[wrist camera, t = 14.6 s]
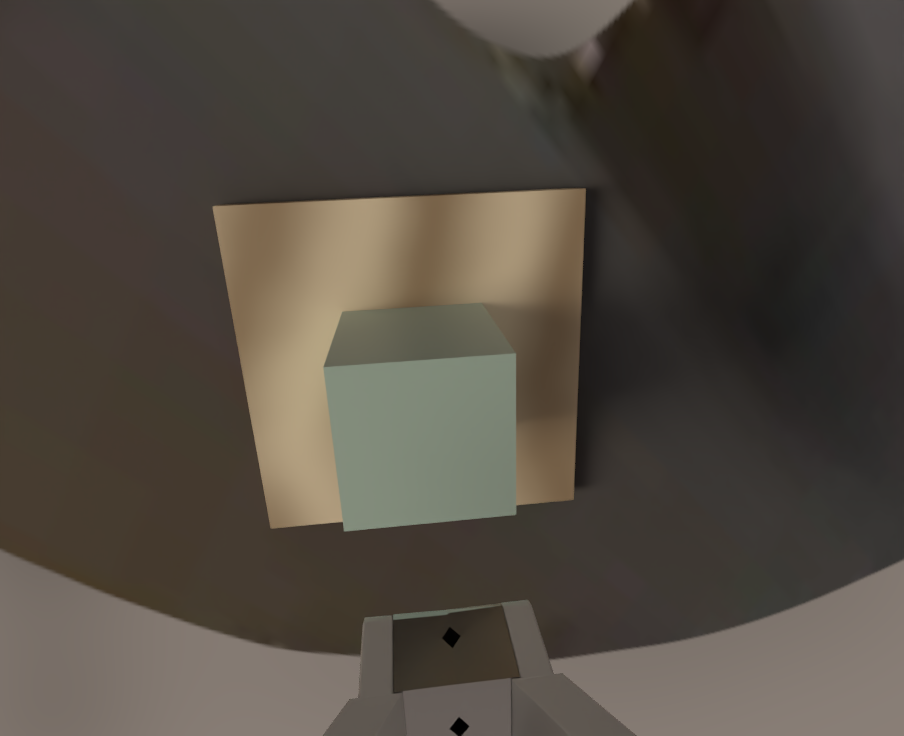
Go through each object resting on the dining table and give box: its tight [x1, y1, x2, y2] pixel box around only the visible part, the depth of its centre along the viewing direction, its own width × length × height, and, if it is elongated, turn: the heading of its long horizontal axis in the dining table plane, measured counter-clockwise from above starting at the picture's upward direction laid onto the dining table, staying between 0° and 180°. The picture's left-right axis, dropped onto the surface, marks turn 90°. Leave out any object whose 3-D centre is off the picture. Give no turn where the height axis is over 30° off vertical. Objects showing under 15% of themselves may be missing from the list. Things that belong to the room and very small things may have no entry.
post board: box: [213, 188, 586, 528], centre depth 21 cm, size 14×14×7 cm
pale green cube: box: [323, 303, 516, 531], centre depth 20 cm, size 6×6×7 cm
